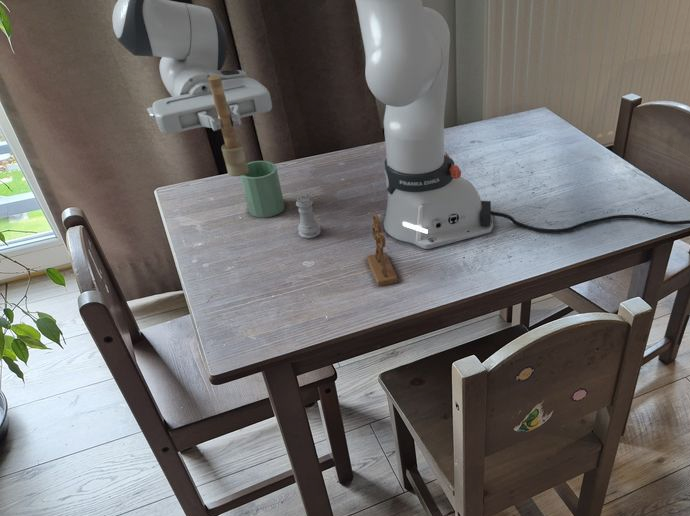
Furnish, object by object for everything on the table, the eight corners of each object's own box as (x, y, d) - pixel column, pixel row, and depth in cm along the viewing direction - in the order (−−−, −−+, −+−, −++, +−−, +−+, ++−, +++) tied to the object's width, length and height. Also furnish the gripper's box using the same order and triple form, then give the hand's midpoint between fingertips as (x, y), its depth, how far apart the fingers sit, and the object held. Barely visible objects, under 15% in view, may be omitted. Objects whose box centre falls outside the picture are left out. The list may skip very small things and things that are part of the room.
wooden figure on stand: (366, 259, 122) (359, 204, 113) (386, 255, 123) (381, 200, 114) (377, 286, 116) (371, 230, 107) (398, 282, 117) (393, 226, 108)
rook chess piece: (299, 240, 126) (292, 205, 121) (298, 228, 129) (291, 193, 124) (321, 238, 127) (315, 202, 121) (320, 226, 130) (314, 191, 124)
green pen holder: (283, 197, 138) (275, 158, 132) (285, 214, 133) (277, 175, 127) (248, 201, 137) (238, 162, 130) (249, 219, 131) (239, 180, 125)
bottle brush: (248, 166, 118) (225, 72, 106) (248, 175, 116) (225, 80, 104) (227, 168, 117) (203, 74, 106) (228, 177, 115) (202, 82, 103)
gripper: (138, 90, 111) (159, 119, 103) (251, 68, 119) (279, 93, 111) (150, 125, 115) (171, 155, 107) (258, 101, 124) (285, 127, 116)
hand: (227, 123), depth 109 cm, fingers closed on bottle brush, 2 cm apart
